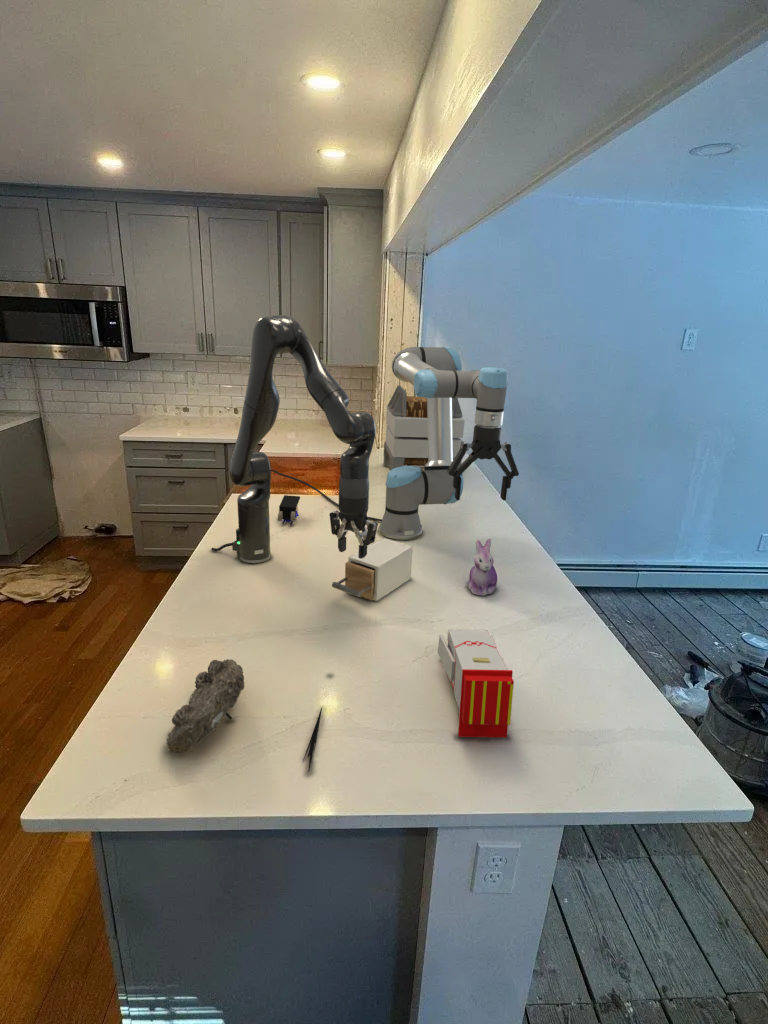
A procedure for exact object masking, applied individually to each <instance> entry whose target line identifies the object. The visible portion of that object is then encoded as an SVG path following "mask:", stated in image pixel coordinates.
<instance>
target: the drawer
mask: <svg viewBox="0 0 768 1024" xmlns="http://www.w3.org/2000/svg"><path fill="white" fill-rule="evenodd" d="M344 564H345V565H344V566H345V571H344V573H345V574H344V578H342V579H340V580H338V581H333V582H332V583H331V587H332V588H333V589H335V590H339V591H342V592H344V593H347V594H349V595H352V596H355V597H356V598H357V597H358V598H363V599H366V600H369V601H373V600H372V599H373V594H374V592H375V569H374V568H371V567H368V566H365V565H362V564H360V563H357V562H354V563H351V562H348V561H346V562H345V563H344ZM343 583H344V584H343Z"/></svg>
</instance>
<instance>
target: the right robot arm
mask: <svg viewBox="0 0 768 1024" xmlns="http://www.w3.org/2000/svg"><path fill="white" fill-rule="evenodd" d="M461 359H462V358H461V356H460V354H459V352H458V351H457V350H456V349H455V348H452V347H445V346H439V347H437V346H435V347H434V346H409V347H405V348H403V349H401V350H400V351H398V352H397V353H396V354H395V356H394V357H393V358H392V362H391V370H392V373H393V375H394V377H396V378H397V380H400V381H401V382H405V383H409V384H411V385H413V391H414V394H415V397H417V396H418V397H425V398H427V417H428V462H427V463H426V464H425V466H423V470H422V469H421V467H420V466H407V465H404V466H401V467H397V468H394V469H392V470H390V469H389V470H388V472H387V475H386V480H385V504H384V505H385V507H384V508H385V509H384V513H383V515H382V518H376V517H371V516H367V517H368V520H369V521H374V522H379V525H378V533H379V534H380V535H381V536H382V537H384V538H386V539H389V540H394V541H410V540H415V539H418V538H420V537H421V536H422V535H423V525H422V524H421V518H420V515H419V507H420V505H423V506H424V505H448V504H455V503H457V502H458V501H460V500H461V499H460V498H461V497H462V495H463V490H464V486H465V485H464V483H465V479H464V474H463V473H464V472H466V470H467V469H468V468H469V467H470V466H471V465H472V464H473V463H475V462H476V461H477V460H478V459H479V460H492V459H493V460H494V461H495V462H496V463H497V465H498V466H499V467H500V469H501V470H502V472H503V473H504V475H502V480H501V489H500V495H499V498H500V499H501V500H502V501H507V494H508V489H511V487H512V486H511V485H512V479H514V477H518V476H519V475H520V473H519V470H518V467H517V464H516V462H515V458H514V456H513V454H512V445H511V444H510V443H509V442H507V441H505V442H504V443H501V439H502V431H503V429H502V427H501V426H503V422H504V421H503V420H504V412H505V405H506V396H507V390H508V389H507V388H508V385H509V384H508V382H509V381H508V377H509V376H508V375H509V373H508V370H507V368H503V367H494V366H485V367H484V366H483V367H481V369H469V370H463V365H462V360H461ZM452 398H458V399H476V405H475V414H474V424H475V425H474V426H473V434H472V441H471V442H470V443H469V442H465V441H463V442H462V443H461V446H460V450H459V452H458V453H457V455H456V457H455V458H454V460H453V440H452ZM470 449H471V450H472V451H471V452H470V453H469V454H468V456H467V457H466V458H465V460H464V461H463V459H464V457H465V455H466V453H467V452H468V451H469V450H470ZM500 450H502V451H503V452H504V455H505V457H506V460H507V463H508V466H509V468H510V470H509V468H508V467H507V465H506V464H505V462H504V461H503V460H502V459H501V457H500V455H499V454H498V453H499V452H500ZM461 460H462V462H461ZM460 462H461V465H460V466H459V467H458V465H459V464H460ZM457 467H458V468H457ZM271 472H273V473H275V474H277V475H279V476H282V477H284V478H288V479H291V480H293V481H296V482H299V483H301V484H303V485H305V486H308V487H309V488H311V489H313V490H314V491H315V492H317V493H318V494H320V495H321V496H322V497H324V498H325V499H326V500H327V501H329V502H330V503H331V504H333V505H335V506H336V507H338V508H339V503H338V502H336V501H334V500H332V498H330V497H328V496H327V495H326V494H324V492H322V491H320V490H319V489H318V488H317V487H315V486H313V485H311V484H309V483H308V482H306V481H304V480H301V479H299V478H296V477H294V476H290V475H289V474H284V473H281V472H278V471H277V470H276V469H273V468H271Z"/></svg>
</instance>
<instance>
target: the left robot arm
mask: <svg viewBox="0 0 768 1024" xmlns="http://www.w3.org/2000/svg"><path fill="white" fill-rule="evenodd" d="M251 337H252V339H251V351H250V352H251V353H250V364H249V365H250V366H249V373H248V378H247V385H246V390H245V396H244V400H243V406H242V410H241V411H242V412H241V419H240V423H239V429H238V434H237V438H236V442H235V445H234V448H233V451H232V454H231V457H230V463H229V476H230V479H231V482H232V483H233V484H234V485H235V486H237V487H246V486H249V488H248V489H246V490H245V491H244V492H242V493H240V494H239V495H238V497H237V501H236V504H237V519H238V521H237V522H238V528H236V530H235V538H236V539H235V540H234V541H232V542H229V543H225V544H224V543H223V544H222V545H221V546H220V547H217V548H216V547H211V548H210V549H211V551H212V552H219V551H220V552H221V551H222V550H223V549H225V548H227V547H231V548H232V551H233V552H236V559H239V560H240V561H241V562H243V563H247V564H261V563H264V562H268V561H269V560H270V559H271V532H270V531H271V529H270V528H271V527H270V526H271V525H270V499H271V484H272V483H271V479H272V471H271V469H272V468H271V462H270V458H269V457H268V455H267V454H266V453H265V452H263V451H255V449H256V448H257V446H258V445H259V443H260V442H262V440H263V439H264V438H265V437H266V435H268V433H269V432H270V431H271V429H272V428H273V427H274V425H275V423H276V421H277V418H278V413H279V407H280V403H281V400H280V393H279V390H278V388H277V386H276V383H275V381H274V377H273V370H274V365H275V361H276V357H277V355H283V354H284V355H285V354H290V355H291V356H293V358H294V359H295V360H297V361H296V362H298V363H299V365H300V367H301V369H302V373H303V377H304V384H305V387H306V389H307V391H308V393H309V395H310V396H311V398H312V399H313V401H314V402H315V403H316V404H317V405H318V407H319V408H320V409H321V410H322V412H324V415H325V418H326V420H327V422H328V425H329V426H330V428H331V431H332V432H333V434H334V436H335V437H336V438H337V439H338V440H339V442H340V441H341V442H342V443H344V444H345V445H349V446H348V448H347V449H346V450H345V451H343V453H341V455H340V462H339V463H340V465H339V480H338V481H339V482H338V505H339V507H338V509H336V510H334V511H331V512H329V523H330V530H331V534H332V535H333V536H335V537H336V538H337V549H338V552H339V553H344V552H345V551H346V550H347V534H348V532H352V533H354V535H355V538H357V540H358V541H357V542H358V543H359V545H358V552H359V558H360V559H362V558H364V557H365V556H366V555H367V547H368V546H370V545H372V544H374V543H376V542H375V541H376V535H377V530H378V527H379V524H378V521H372V520H370V519H368V517H369V516H368V511H369V503H370V502H369V501H370V498H369V497H370V479H369V472H370V471H369V470H370V457H371V455H372V451H373V448H374V443H375V439H376V434H377V426H376V421H375V419H374V417H373V416H372V414H371V413H369V412H367V411H357V412H352V413H351V412H350V411H349V410H348V406H349V403H350V398H349V396H348V394H347V392H346V391H345V390H344V389H343V387H341V386H340V384H339V383H338V382H337V381H336V379H335V378H334V377H333V376H332V374H331V373H330V372H329V371H328V369H327V368H326V366H325V364H324V363H323V362H322V360H321V358H320V356H319V355H318V353H317V351H316V349H315V347H314V346H313V344H312V343H311V341H310V339H309V338H308V336H307V334H306V332H305V331H304V329H303V328H302V326H301V324H300V323H299V322H298V321H297V319H296V318H295V317H293V316H291V315H288V314H277V315H276V314H275V315H268V316H267V315H266V316H263V317H260V318H259V319H257V321H256V322H255V324H254V327H253V331H252V336H251Z"/></svg>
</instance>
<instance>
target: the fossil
mask: <svg viewBox="0 0 768 1024" xmlns="http://www.w3.org/2000/svg"><path fill="white" fill-rule="evenodd" d="M243 670H244V669H243V667H242V665H240V664H237V662H236V661H235V660H234V659H232V658H231V659H227V658H226V659H224V660H223V661H222V660H217V659H212V660H211V661H210V663H209V665H208V666H207V671H201V672H199V673H198V674H197V675H196V676H195V680H194V684H195V685H194V687H195V689H194V690H193V693H192V694H191V697H190V698H189V700H188V704H184V705H182V706H181V707H180V709H177V710H176V711H175V713H174V715H173V716H172V718H171V723H172V724H173V727H172V730H171V731H170V732H168V734H167V738H166V741H167V742H166V745H167V749H168V750H169V751H173V752H174V753H176V754H178V753H182V752H188V751H189V752H192V751H193V750H195V748H196V747H197V746H199V744H200V743H201V742H203V741H204V740H205V739H206V738H207V737H208V736H209V735H210V734H211V733H212V732H214V730H215V729H217V727H218V726H219V724H220V722H221V721H222V720H223V719H224V718H225V716H226V717H227V719H229V720H233V717H232V715H230V714H229V710H230V709H231V708H234V706H235V704H236V703H237V702H238V699H239V697H240V695H241V693H242V691H243V690H245V689H244V688H245V675H244V671H243Z"/></svg>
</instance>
